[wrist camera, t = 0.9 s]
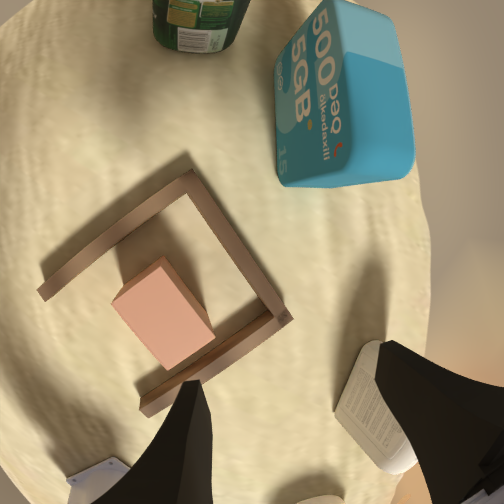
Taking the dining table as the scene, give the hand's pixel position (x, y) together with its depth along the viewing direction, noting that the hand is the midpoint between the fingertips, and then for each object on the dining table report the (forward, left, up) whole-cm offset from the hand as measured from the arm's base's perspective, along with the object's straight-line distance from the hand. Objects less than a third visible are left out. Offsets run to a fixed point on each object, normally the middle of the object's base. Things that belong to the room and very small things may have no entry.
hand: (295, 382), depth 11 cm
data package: (+13, +9, -15) cm, 22 cm away
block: (-5, +3, -15) cm, 16 cm away
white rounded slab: (+5, -17, -15) cm, 24 cm away
